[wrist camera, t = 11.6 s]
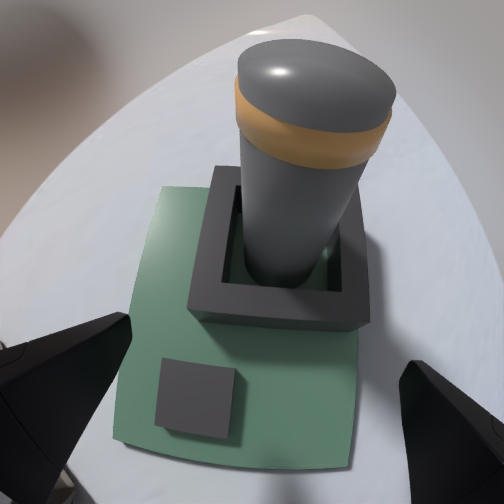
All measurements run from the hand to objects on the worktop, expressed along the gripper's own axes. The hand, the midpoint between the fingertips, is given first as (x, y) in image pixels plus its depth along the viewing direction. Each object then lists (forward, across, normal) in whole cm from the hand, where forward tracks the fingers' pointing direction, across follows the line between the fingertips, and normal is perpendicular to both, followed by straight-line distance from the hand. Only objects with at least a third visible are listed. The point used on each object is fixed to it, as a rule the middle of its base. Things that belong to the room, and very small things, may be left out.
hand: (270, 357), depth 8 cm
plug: (+10, 0, 0) cm, 10 cm away
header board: (+8, +2, +4) cm, 9 cm away
